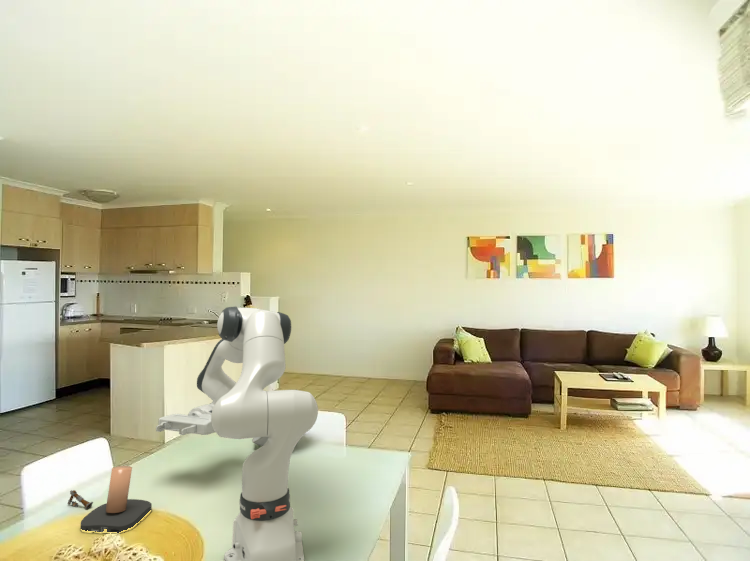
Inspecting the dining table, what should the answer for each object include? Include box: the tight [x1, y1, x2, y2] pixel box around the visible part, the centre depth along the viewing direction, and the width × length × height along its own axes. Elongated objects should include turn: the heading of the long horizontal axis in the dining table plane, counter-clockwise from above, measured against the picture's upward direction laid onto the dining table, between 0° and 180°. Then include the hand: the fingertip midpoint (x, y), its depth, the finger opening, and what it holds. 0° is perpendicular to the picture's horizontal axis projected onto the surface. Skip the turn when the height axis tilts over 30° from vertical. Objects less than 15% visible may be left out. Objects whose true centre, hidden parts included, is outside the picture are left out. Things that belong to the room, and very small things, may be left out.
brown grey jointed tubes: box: [67, 489, 94, 511], centre depth 130 cm, size 2×8×4 cm, turn 75°
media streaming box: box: [80, 498, 152, 533], centre depth 123 cm, size 15×15×3 cm
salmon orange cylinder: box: [106, 465, 133, 513], centre depth 124 cm, size 5×5×11 cm
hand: (169, 430), depth 139 cm, fingers open, 8 cm apart
